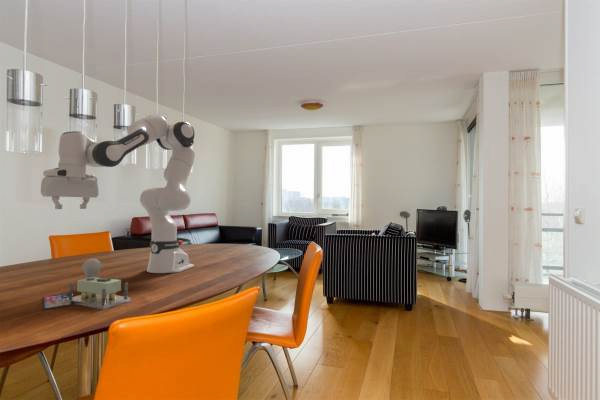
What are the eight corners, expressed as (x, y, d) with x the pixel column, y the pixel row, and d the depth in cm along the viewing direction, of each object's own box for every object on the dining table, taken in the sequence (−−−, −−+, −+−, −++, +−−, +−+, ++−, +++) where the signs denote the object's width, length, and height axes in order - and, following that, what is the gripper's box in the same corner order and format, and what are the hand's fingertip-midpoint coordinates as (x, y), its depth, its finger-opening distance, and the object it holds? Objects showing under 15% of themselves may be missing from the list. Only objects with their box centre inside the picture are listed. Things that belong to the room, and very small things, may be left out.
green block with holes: (91, 287, 115) (92, 275, 115) (120, 290, 111) (121, 278, 111) (77, 291, 109) (77, 278, 109) (107, 294, 106) (107, 281, 106)
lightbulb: (104, 286, 128) (105, 257, 128) (90, 290, 122) (91, 260, 122) (92, 285, 130) (92, 256, 130) (77, 289, 124) (78, 259, 124)
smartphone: (42, 309, 101) (42, 296, 112) (42, 312, 101) (42, 299, 113) (73, 304, 105) (69, 292, 117) (73, 307, 105) (69, 295, 117)
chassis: (94, 294, 118) (95, 277, 118) (130, 300, 112) (131, 282, 112) (65, 302, 109) (65, 283, 109) (103, 309, 103) (103, 289, 103)
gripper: (91, 175, 141) (91, 208, 141) (38, 170, 122) (37, 209, 122) (102, 175, 139) (101, 208, 139) (49, 170, 120) (48, 209, 120)
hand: (71, 209), depth 130 cm, fingers open, 8 cm apart
